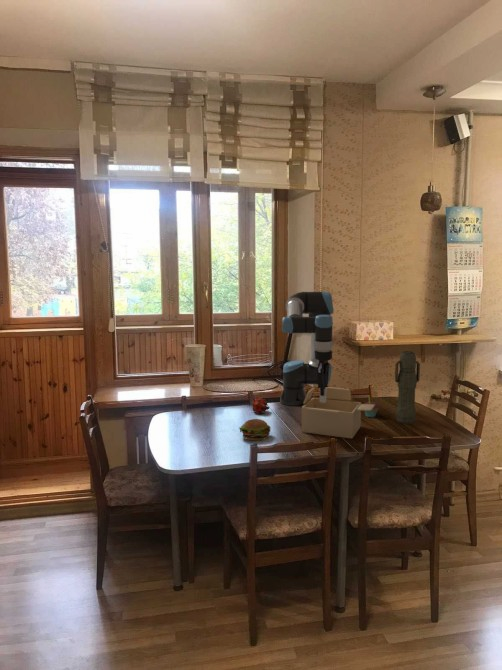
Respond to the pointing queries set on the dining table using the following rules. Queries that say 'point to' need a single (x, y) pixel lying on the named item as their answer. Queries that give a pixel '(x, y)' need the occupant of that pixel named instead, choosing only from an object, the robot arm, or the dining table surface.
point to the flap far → (338, 393)
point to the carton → (331, 418)
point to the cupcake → (374, 410)
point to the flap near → (324, 410)
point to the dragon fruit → (259, 405)
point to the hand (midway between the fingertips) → (322, 401)
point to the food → (255, 429)
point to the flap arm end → (308, 395)
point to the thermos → (406, 386)
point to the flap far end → (365, 407)
